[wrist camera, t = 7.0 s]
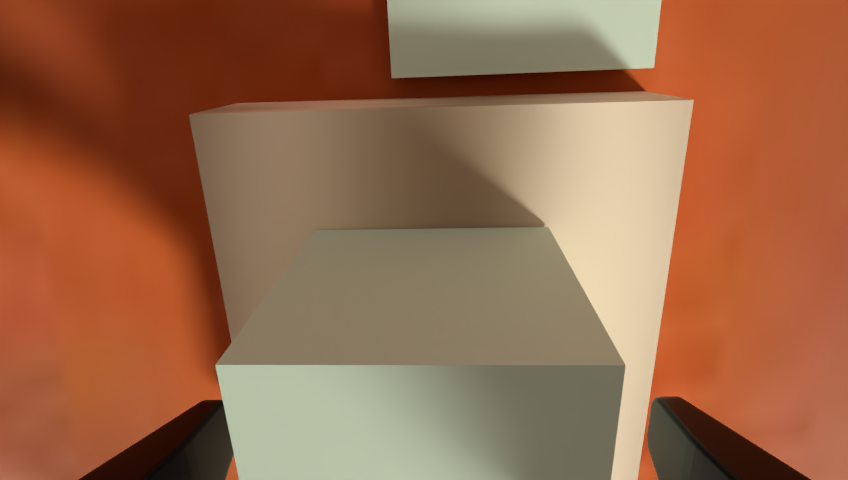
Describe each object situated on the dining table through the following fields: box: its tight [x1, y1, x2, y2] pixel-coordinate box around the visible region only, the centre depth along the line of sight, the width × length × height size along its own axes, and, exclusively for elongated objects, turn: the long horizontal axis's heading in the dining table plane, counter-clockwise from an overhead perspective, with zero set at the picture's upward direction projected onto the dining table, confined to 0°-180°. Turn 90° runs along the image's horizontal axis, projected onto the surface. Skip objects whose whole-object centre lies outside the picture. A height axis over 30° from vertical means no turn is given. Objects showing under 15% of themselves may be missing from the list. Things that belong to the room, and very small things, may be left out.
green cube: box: [215, 227, 626, 480], centre depth 9 cm, size 5×5×5 cm
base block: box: [189, 91, 694, 480], centre depth 13 cm, size 10×10×3 cm
